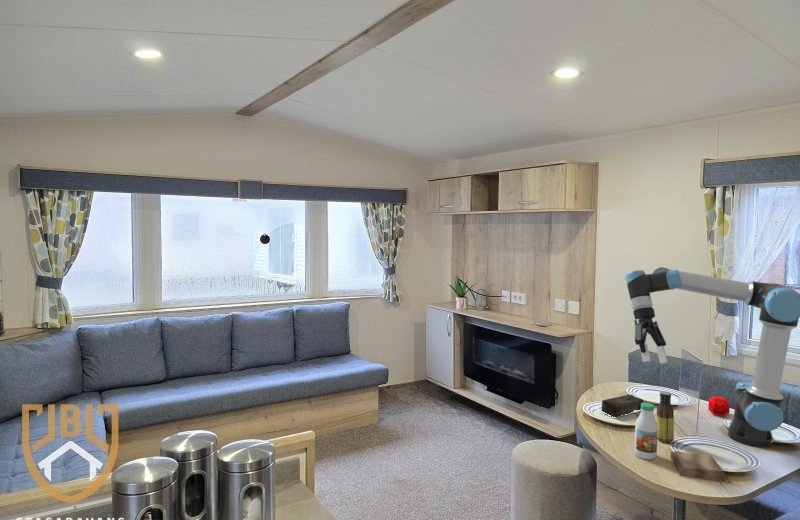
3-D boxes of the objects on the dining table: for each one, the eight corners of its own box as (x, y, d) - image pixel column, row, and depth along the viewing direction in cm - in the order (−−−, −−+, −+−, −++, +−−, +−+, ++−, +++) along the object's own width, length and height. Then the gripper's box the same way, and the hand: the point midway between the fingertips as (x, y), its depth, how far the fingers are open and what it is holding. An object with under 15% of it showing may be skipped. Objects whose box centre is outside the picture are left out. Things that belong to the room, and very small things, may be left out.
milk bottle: (629, 452, 197) (631, 402, 195) (644, 449, 200) (647, 399, 198) (645, 461, 190) (647, 409, 188) (661, 458, 193) (663, 406, 191)
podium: (712, 462, 190) (712, 454, 190) (725, 481, 176) (725, 472, 176) (670, 457, 194) (670, 449, 193) (680, 475, 180) (680, 467, 180)
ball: (708, 415, 233) (709, 399, 232) (707, 409, 240) (708, 393, 239) (729, 419, 229) (730, 402, 228) (728, 413, 236) (729, 396, 235)
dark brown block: (643, 411, 238) (644, 398, 237) (614, 419, 229) (615, 405, 228) (628, 406, 245) (629, 392, 244) (600, 413, 236) (600, 399, 235)
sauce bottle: (671, 438, 210) (674, 390, 208) (675, 444, 204) (677, 396, 202) (653, 436, 212) (656, 389, 210) (657, 442, 206) (659, 394, 204)
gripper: (649, 313, 216) (661, 364, 209) (617, 307, 201) (629, 362, 194) (666, 309, 210) (679, 361, 203) (636, 303, 195) (649, 359, 188)
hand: (655, 362), depth 198 cm, fingers open, 13 cm apart
